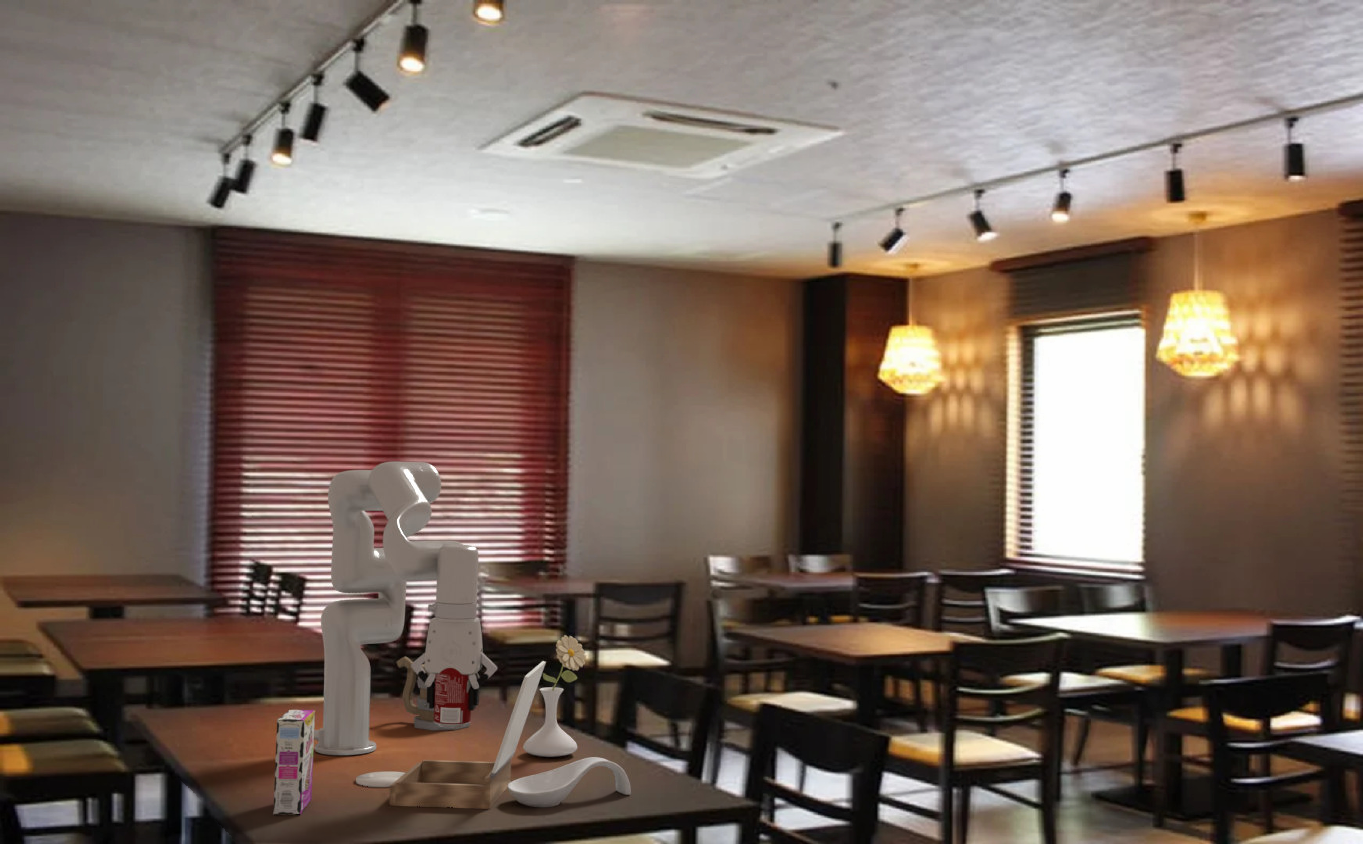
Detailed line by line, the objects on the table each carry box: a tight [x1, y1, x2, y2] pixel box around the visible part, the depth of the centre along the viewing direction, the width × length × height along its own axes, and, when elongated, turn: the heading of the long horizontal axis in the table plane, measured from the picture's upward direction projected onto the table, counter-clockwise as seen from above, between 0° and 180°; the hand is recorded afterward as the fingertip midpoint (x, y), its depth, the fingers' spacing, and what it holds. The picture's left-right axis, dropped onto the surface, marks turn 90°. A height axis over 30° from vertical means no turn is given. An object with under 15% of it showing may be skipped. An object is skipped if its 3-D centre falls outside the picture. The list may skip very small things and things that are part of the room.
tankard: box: [396, 656, 471, 732], centre depth 330 cm, size 20×13×15 cm, turn 58°
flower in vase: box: [522, 634, 587, 758], centre depth 297 cm, size 13×11×25 cm
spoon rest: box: [506, 756, 632, 808], centre depth 258 cm, size 24×12×7 cm, turn 123°
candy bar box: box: [272, 709, 316, 815], centre depth 248 cm, size 11×5×16 cm, turn 5°
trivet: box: [355, 771, 406, 788], centre depth 270 cm, size 11×11×1 cm
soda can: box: [434, 663, 472, 728], centre depth 261 cm, size 7×7×12 cm
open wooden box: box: [389, 758, 512, 810], centre depth 260 cm, size 18×20×5 cm
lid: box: [490, 660, 547, 778], centre depth 260 cm, size 19×20×1 cm
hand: (452, 707), depth 261 cm, fingers closed on soda can, 6 cm apart
